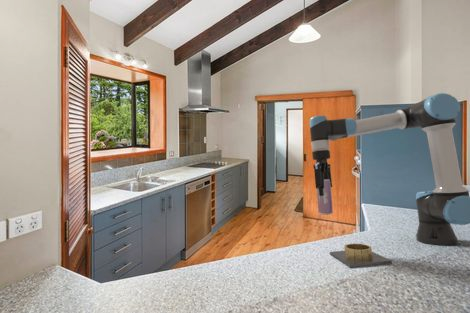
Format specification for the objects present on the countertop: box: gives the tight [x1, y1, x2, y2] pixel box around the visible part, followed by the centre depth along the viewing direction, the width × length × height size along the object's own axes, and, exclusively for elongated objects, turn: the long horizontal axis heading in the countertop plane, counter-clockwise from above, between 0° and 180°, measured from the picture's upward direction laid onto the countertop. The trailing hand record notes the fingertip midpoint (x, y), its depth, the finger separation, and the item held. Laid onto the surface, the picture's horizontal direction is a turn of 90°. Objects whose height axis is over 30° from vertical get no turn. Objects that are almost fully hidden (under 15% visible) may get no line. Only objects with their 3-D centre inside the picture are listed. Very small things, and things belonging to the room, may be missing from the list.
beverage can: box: [316, 179, 334, 216], centre depth 114 cm, size 6×6×15 cm
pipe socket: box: [329, 243, 393, 269], centre depth 101 cm, size 16×16×5 cm
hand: (325, 202), depth 114 cm, fingers closed on beverage can, 5 cm apart
